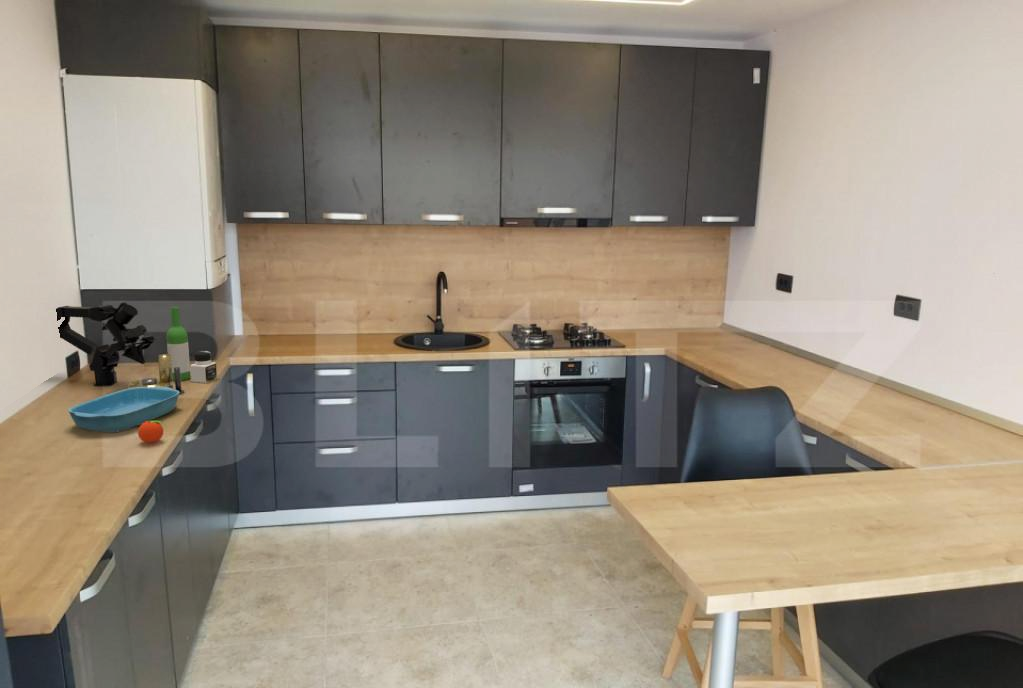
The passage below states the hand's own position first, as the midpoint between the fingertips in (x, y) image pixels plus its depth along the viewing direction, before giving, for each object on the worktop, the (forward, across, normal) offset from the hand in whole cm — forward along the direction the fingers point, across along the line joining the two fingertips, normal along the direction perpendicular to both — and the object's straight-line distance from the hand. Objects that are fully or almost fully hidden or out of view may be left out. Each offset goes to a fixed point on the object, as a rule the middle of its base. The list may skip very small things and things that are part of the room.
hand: (143, 363), depth 263 cm
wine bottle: (+8, +17, +8) cm, 20 cm away
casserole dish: (+23, -28, -9) cm, 38 cm away
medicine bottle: (+15, +20, 0) cm, 25 cm away
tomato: (+41, -42, -27) cm, 64 cm away
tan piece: (+11, -5, -1) cm, 12 cm away
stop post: (+18, +2, -3) cm, 18 cm away
